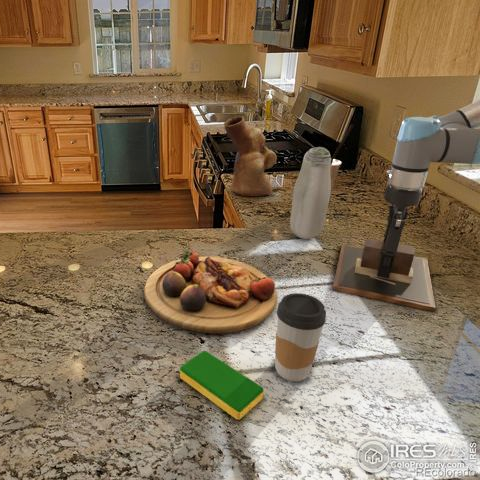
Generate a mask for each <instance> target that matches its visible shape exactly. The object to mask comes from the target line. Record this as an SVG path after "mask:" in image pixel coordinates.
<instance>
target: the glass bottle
mask: <svg viewBox="0 0 480 480" xmlns="http://www.w3.org/2000/svg"><path fill="white" fill-rule="evenodd" d="M302 159H303V160H302V164H301V167H300V171H299V173H298V176H297V178H296V181H295V184H294V187H293V192H292V201H291V210H290V217H289V223H290V225H289V226H290V229H291V232H292V233H293V234H294V236H296V237H297V238H300V239H302V240H303V239H304V240H311V239H313V238H316V237H318V236H319V235H320V234H321V232H323V231H322V230H323V229H324V226H325V224H326V218H327V213H328V207H329V203H330V201H329V198H330V199H331V197H330V192H331V180H330V164H331V159H332V157H331V153H330V151H329V150H328V149H327V148H325V147H323V146H317V147H312V148H310V149H308V150H307V151H306V153H305V154H304V156H303V158H302Z"/></svg>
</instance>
